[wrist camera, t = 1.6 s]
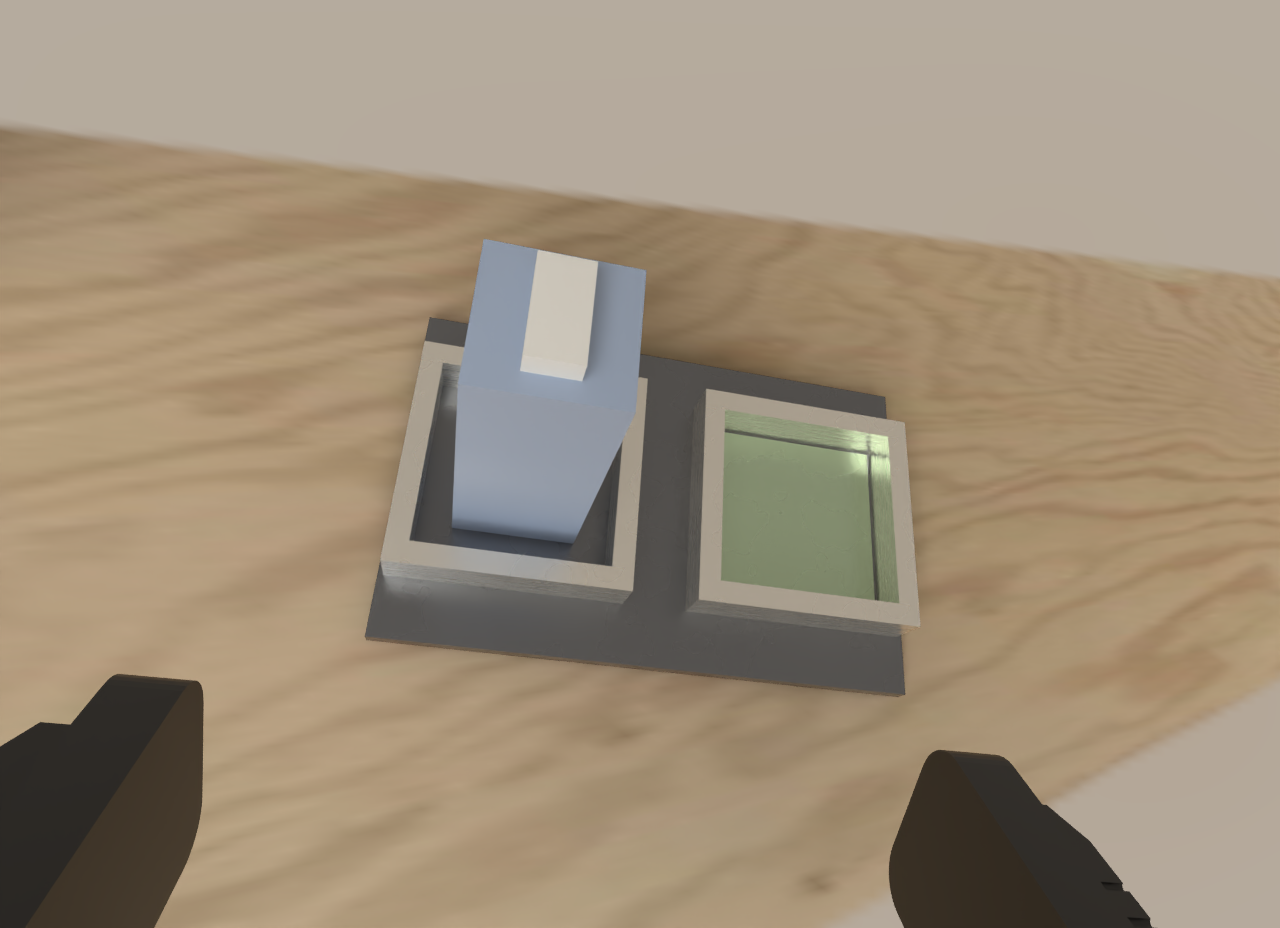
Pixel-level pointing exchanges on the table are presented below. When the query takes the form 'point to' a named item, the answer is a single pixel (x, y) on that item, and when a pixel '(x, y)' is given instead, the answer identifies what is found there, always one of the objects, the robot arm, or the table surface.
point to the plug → (543, 389)
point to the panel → (675, 538)
